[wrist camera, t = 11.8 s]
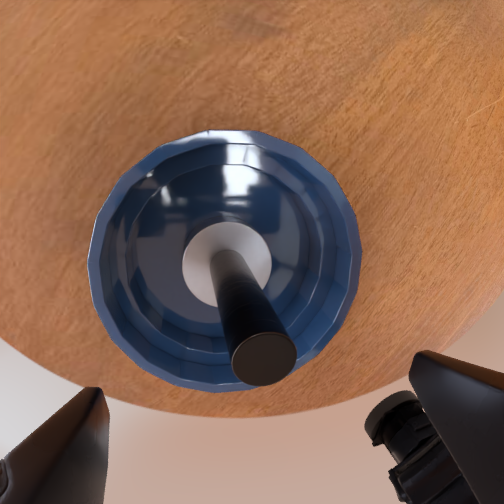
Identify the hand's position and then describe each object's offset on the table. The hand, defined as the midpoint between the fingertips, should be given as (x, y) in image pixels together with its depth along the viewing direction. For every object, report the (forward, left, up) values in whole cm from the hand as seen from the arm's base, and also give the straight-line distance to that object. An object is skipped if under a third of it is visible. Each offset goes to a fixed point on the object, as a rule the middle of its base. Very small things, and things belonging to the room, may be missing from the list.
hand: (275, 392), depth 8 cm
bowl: (0, 0, -13) cm, 13 cm away
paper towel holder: (0, 0, -12) cm, 12 cm away
